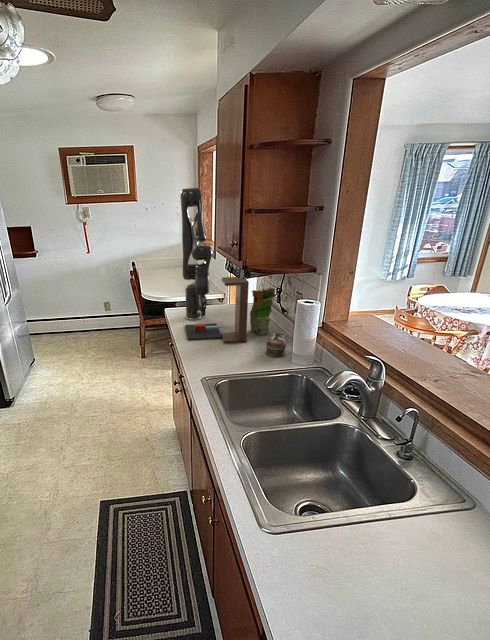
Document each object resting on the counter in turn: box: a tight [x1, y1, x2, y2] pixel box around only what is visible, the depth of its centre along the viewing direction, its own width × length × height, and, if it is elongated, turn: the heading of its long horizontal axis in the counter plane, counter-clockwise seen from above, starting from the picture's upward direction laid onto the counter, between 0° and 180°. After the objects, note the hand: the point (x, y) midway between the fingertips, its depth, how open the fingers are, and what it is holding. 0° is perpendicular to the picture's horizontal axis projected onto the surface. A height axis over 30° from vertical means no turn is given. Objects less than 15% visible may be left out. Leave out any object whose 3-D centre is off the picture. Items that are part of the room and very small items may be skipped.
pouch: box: [249, 287, 276, 336], centre depth 212 cm, size 11×12×25 cm
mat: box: [185, 322, 222, 341], centre depth 220 cm, size 22×18×1 cm
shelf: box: [220, 276, 250, 344], centre depth 203 cm, size 12×12×32 cm
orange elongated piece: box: [193, 323, 224, 332], centre depth 219 cm, size 4×16×3 cm, turn 92°
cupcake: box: [265, 332, 287, 358], centre depth 188 cm, size 10×10×10 cm
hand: (202, 313), depth 215 cm, fingers open, 8 cm apart
